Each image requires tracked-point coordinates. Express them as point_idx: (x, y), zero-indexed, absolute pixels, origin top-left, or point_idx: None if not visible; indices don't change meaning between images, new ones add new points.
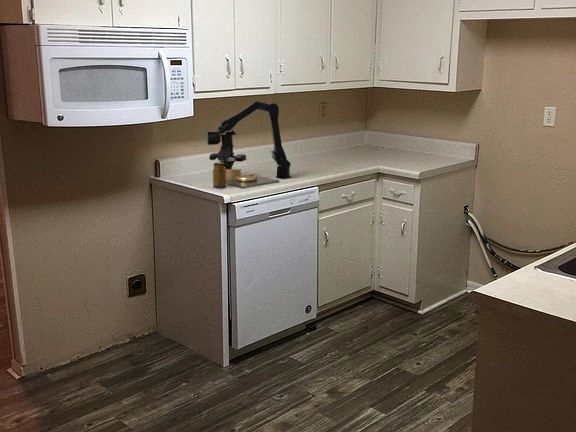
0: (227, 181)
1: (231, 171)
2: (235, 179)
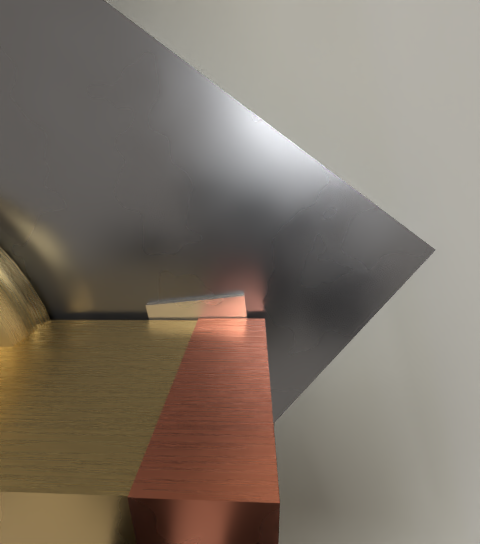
0: (118, 132)
1: (23, 428)
2: None
